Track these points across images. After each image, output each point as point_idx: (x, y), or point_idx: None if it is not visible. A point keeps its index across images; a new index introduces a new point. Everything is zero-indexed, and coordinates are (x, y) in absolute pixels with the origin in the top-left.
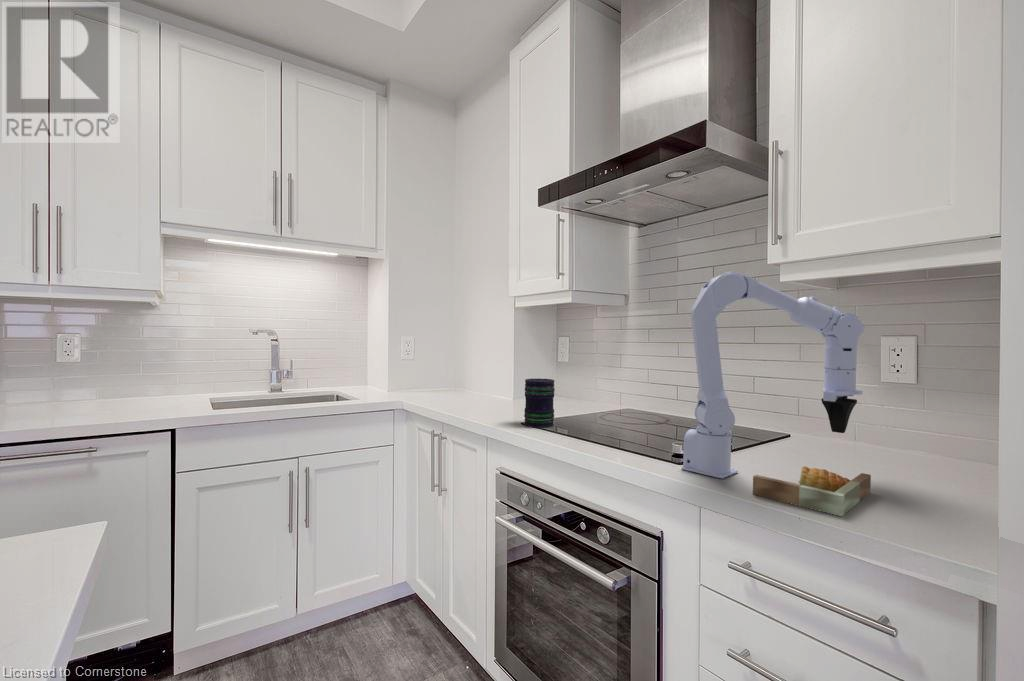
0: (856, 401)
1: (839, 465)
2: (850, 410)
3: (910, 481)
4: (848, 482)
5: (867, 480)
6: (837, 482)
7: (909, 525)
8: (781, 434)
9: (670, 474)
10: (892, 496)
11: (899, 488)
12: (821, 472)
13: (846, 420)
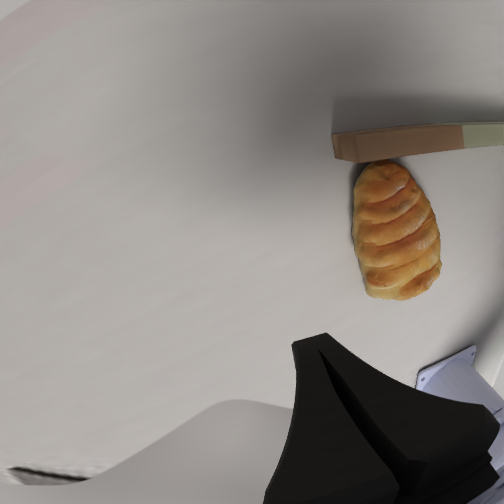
0: (332, 498)
1: (100, 334)
2: (350, 426)
3: (67, 140)
4: (478, 146)
5: (388, 130)
6: (420, 192)
7: (468, 27)
8: (24, 476)
9: (486, 379)
10: (310, 84)
11: (190, 108)
12: (428, 241)
13: (353, 371)
